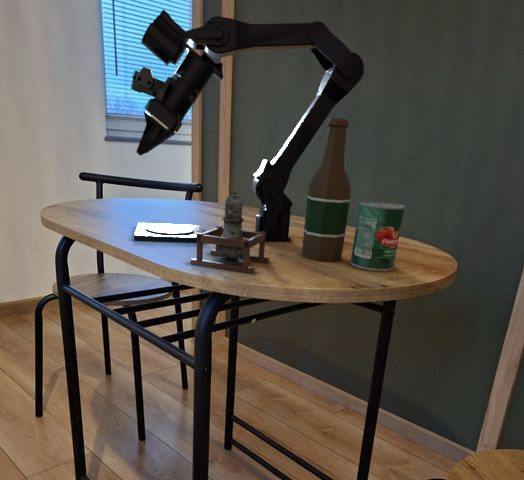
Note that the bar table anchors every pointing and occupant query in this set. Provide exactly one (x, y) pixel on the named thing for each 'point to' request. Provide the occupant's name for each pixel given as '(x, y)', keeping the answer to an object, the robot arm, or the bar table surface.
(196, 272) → the bar table surface
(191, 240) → the plate
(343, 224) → the beer bottle
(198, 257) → the brown wooden stand
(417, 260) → the bar table surface
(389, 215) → the canned tomato
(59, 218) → the bar table surface
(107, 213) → the bar table surface
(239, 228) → the salt shaker
